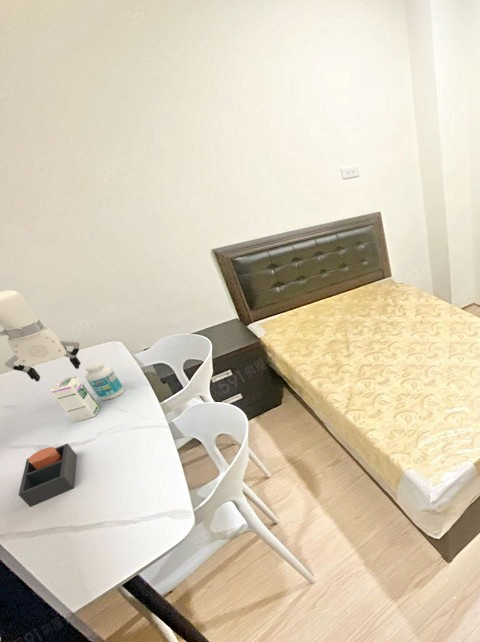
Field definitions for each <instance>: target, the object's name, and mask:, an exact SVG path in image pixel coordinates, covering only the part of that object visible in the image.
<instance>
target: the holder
mask: <svg viewBox="0 0 480 642" xmlns="http://www.w3.org/2000/svg"><path fill="white" fill-rule="evenodd" d="M54 448H55V449H56V450H57V451H58V452H59V454H60V455H61V456H62V460H60V461H58V462H55V463H53V464H50V465H48V466H45V467H43V468H40V469H38V470H36V469H35V468H34V467H33V466H32V464H31V463H30V462H29V461H28V459H29V458H30V457H28V458H26V460H25V465H24V470H23V474H22V477H21V482H20V487H19V490H18V496H19V497H20V499H22V500H23V501H24V502H25V504H27V506H28V507H30V508H32V507H34V506H36V505H39V504H41V503H43V502H46V501H48V500H50V499H53V498H55V497H57V496H59V495H62V494H64V493H67V492H69V491H72V490H73V489H75V481H76V470H77V469H76V468H77V459H78V458H77V457H78V455H77V454H76V452H75V450H74V449H73V448H72V447H71V446H70V444H69V443H65V444H62V445H60V446H57V447H54Z"/></svg>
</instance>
